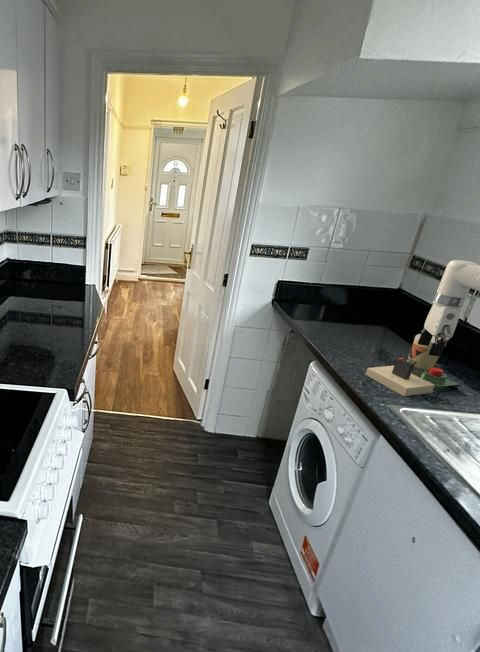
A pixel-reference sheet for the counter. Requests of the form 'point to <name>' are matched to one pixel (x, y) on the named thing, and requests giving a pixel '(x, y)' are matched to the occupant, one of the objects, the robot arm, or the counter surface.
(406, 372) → the dark brown upright block
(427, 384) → the tan rectangular slab
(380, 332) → the counter surface
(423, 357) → the coffee cup
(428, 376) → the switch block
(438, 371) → the stop button
